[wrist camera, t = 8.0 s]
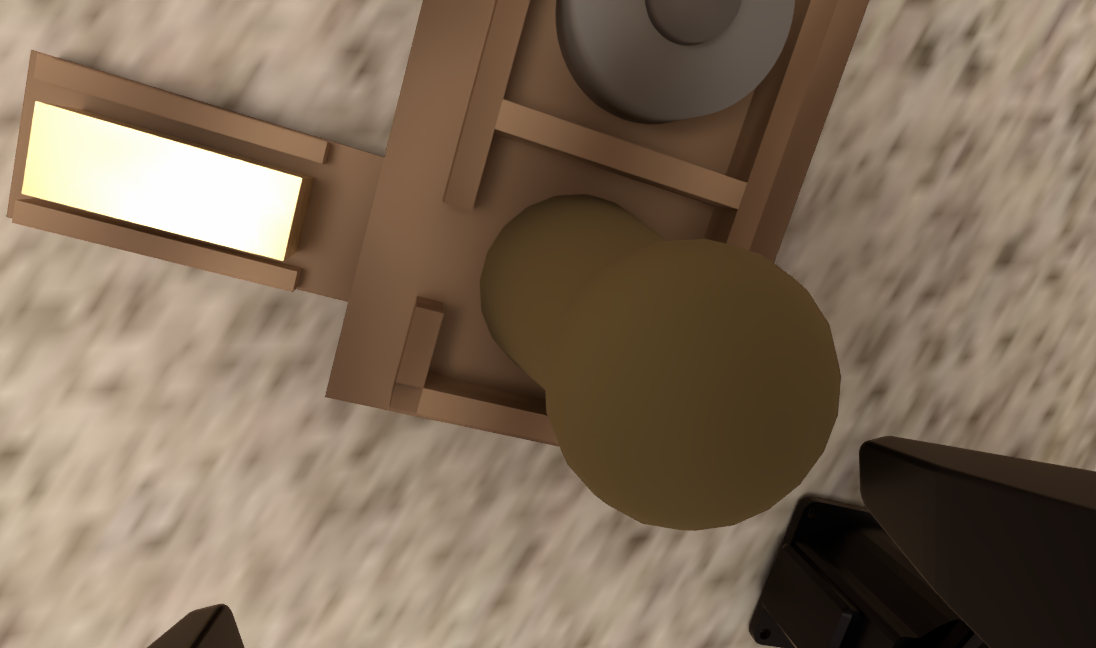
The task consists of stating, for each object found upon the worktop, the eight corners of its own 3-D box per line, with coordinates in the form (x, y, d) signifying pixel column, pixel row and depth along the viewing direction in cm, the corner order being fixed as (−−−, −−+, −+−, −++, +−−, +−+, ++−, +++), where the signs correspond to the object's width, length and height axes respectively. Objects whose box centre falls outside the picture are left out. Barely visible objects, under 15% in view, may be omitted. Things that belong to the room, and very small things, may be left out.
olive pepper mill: (489, 182, 19) (567, 200, 9) (677, 205, 20) (946, 245, 10) (470, 374, 20) (518, 593, 10) (648, 384, 22) (858, 589, 11)
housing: (872, -68, 21) (986, -129, 17) (683, 460, 24) (738, 522, 20) (130, -424, 15) (21, -646, 11) (16, 316, 19) (-102, 359, 15)
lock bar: (314, 177, 18) (302, 178, 16) (297, 251, 19) (283, 260, 17) (80, 109, 17) (35, 101, 15) (66, 191, 17) (21, 193, 15)
